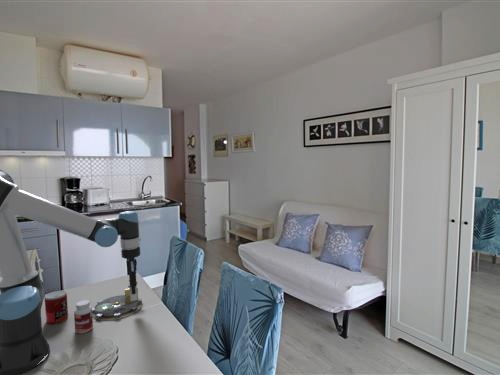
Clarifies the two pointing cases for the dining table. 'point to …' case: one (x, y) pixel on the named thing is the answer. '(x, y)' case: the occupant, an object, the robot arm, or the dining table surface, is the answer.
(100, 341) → the dining table surface
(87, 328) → the pill bottle
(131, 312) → the base
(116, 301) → the sprocket
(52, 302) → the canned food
